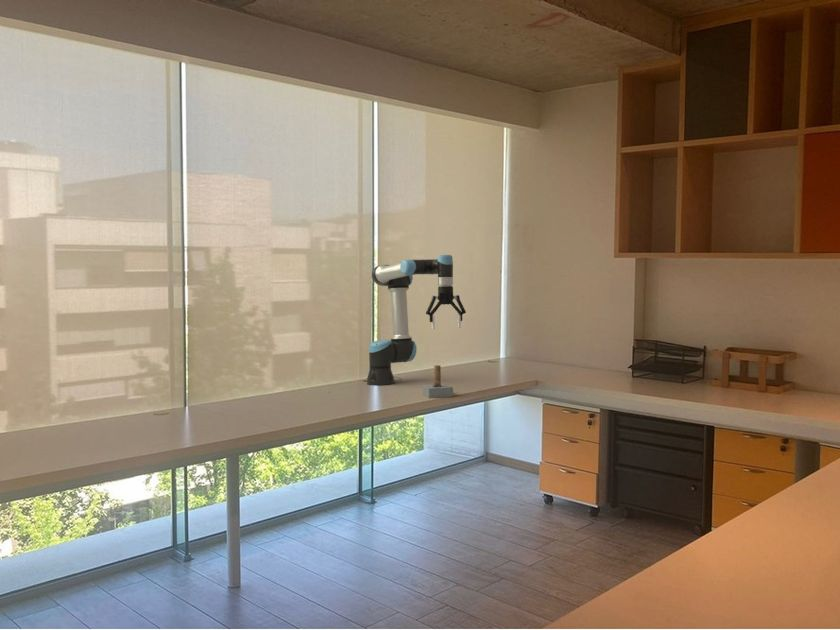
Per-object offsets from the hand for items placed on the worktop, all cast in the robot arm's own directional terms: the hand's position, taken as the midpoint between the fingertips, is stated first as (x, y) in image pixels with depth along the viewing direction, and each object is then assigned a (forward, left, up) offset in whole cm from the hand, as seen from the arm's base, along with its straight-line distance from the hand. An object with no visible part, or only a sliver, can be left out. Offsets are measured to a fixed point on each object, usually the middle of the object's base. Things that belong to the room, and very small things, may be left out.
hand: (446, 328), depth 380 cm
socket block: (+11, -8, -32) cm, 34 cm away
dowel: (+11, -8, -31) cm, 34 cm away
